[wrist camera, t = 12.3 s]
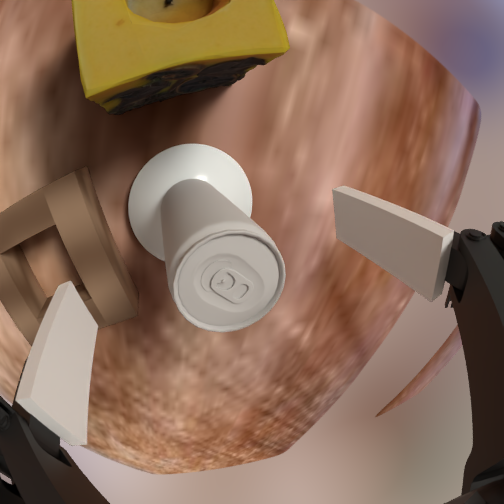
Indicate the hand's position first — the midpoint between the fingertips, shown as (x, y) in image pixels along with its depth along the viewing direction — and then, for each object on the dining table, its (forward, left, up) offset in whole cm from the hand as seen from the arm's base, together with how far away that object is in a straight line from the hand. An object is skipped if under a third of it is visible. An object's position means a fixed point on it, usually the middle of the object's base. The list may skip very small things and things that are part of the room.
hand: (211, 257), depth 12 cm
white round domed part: (0, 0, -11) cm, 11 cm away
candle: (-13, +1, -11) cm, 18 cm away
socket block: (0, -13, -11) cm, 17 cm away
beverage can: (0, 0, -10) cm, 10 cm away
